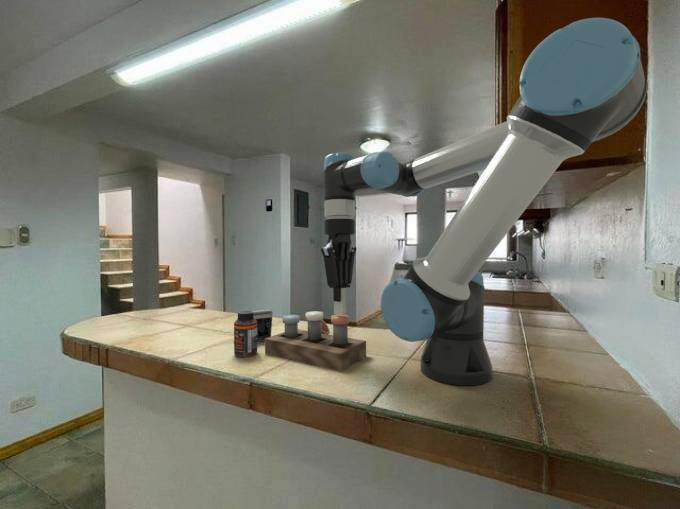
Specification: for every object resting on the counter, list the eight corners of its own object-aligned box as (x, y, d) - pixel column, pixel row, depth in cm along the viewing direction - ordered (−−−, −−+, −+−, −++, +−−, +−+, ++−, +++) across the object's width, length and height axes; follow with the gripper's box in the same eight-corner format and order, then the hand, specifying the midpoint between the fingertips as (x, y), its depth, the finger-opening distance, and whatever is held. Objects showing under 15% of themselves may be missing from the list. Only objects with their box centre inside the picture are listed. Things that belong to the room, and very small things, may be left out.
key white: (326, 336, 86) (326, 312, 86) (316, 341, 82) (316, 315, 82) (312, 334, 89) (312, 310, 89) (302, 338, 85) (301, 313, 85)
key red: (353, 341, 82) (352, 315, 82) (343, 346, 78) (343, 319, 78) (337, 338, 84) (337, 313, 84) (327, 343, 81) (327, 317, 80)
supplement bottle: (229, 355, 85) (228, 312, 85) (245, 349, 91) (245, 308, 90) (246, 359, 83) (245, 314, 82) (262, 352, 88) (261, 310, 88)
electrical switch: (270, 336, 104) (270, 307, 103) (274, 342, 100) (275, 312, 98) (239, 340, 100) (239, 310, 99) (243, 346, 95) (243, 315, 94)
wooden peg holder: (366, 356, 84) (366, 340, 84) (341, 371, 74) (341, 353, 74) (294, 342, 97) (294, 328, 97) (265, 353, 87) (264, 338, 87)
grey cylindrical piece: (303, 339, 91) (302, 315, 90) (292, 343, 87) (292, 319, 87) (290, 336, 93) (290, 314, 93) (279, 340, 89) (279, 317, 89)
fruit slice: (325, 341, 97) (325, 325, 97) (304, 340, 99) (303, 324, 99) (332, 334, 106) (331, 319, 106) (312, 333, 107) (311, 318, 107)
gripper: (340, 221, 88) (341, 308, 89) (311, 217, 77) (312, 317, 78) (365, 219, 84) (365, 311, 85) (338, 216, 73) (338, 320, 74)
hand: (340, 313), depth 81 cm, fingers closed
